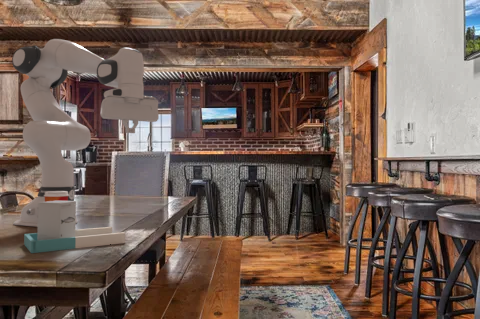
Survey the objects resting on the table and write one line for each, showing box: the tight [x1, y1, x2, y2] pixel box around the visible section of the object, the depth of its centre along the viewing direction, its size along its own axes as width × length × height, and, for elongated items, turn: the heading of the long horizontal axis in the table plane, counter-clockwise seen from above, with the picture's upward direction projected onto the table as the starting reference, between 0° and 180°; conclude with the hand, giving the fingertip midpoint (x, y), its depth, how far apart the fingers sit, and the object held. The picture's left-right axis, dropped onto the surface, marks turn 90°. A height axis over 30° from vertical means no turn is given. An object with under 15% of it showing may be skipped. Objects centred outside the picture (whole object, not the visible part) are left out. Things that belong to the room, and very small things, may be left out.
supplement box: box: [36, 200, 77, 240], centre depth 116 cm, size 7×7×13 cm
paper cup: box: [44, 191, 69, 202], centre depth 133 cm, size 8×8×14 cm
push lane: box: [23, 226, 126, 254], centre depth 119 cm, size 25×13×3 cm, turn 125°
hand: (130, 133), depth 144 cm, fingers closed
